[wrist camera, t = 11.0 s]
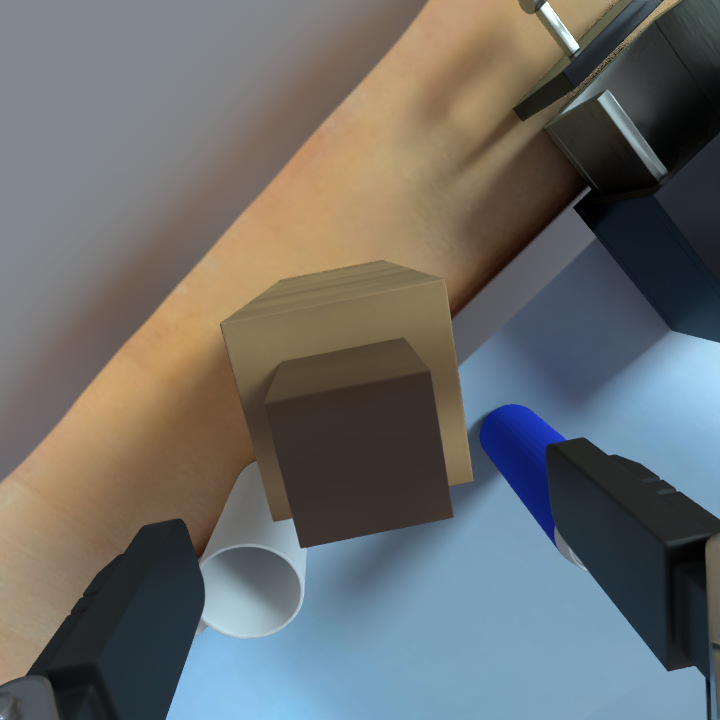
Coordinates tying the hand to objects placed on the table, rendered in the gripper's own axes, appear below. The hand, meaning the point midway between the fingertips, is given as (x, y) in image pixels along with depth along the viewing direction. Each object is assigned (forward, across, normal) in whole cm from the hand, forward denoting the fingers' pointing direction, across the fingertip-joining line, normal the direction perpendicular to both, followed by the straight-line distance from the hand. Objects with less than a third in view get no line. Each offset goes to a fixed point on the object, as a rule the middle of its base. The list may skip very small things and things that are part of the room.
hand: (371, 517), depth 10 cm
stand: (+27, 0, 0) cm, 27 cm away
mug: (+27, +10, +14) cm, 32 cm away
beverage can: (+27, -12, +12) cm, 32 cm away
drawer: (+26, -22, -12) cm, 36 cm away
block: (+7, 0, 0) cm, 7 cm away
